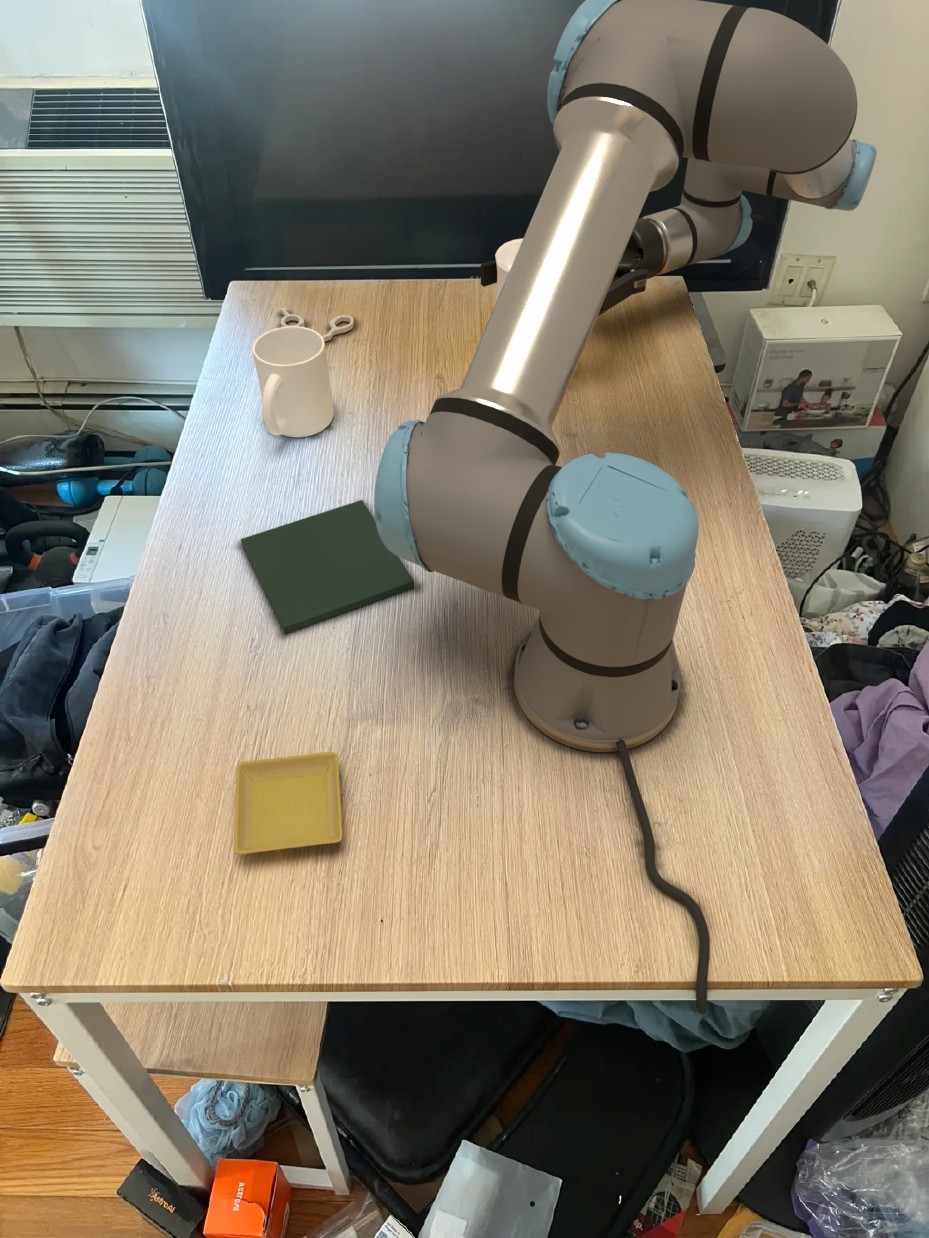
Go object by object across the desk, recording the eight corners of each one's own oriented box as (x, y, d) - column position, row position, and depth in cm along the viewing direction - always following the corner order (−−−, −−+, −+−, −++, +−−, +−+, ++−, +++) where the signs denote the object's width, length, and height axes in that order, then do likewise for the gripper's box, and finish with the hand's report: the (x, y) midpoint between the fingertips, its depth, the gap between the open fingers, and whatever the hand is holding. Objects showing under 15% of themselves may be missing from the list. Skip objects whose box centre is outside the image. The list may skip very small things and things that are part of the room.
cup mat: (414, 587, 94) (414, 581, 93) (284, 634, 90) (283, 627, 89) (362, 506, 102) (361, 499, 101) (242, 545, 98) (240, 538, 97)
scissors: (356, 309, 128) (334, 392, 115) (356, 314, 128) (335, 397, 115) (281, 307, 128) (251, 390, 115) (282, 312, 129) (252, 395, 116)
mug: (305, 464, 107) (292, 390, 99) (241, 451, 109) (224, 376, 101) (344, 405, 114) (335, 332, 107) (284, 394, 116) (271, 321, 108)
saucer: (340, 763, 80) (338, 749, 78) (345, 853, 74) (342, 840, 73) (240, 774, 79) (236, 761, 78) (238, 866, 73) (233, 854, 72)
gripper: (699, 312, 116) (556, 364, 108) (593, 241, 128) (458, 283, 121) (711, 255, 110) (560, 306, 102) (599, 186, 123) (457, 227, 115)
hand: (505, 293), depth 112 cm, fingers closed on cup, 10 cm apart
